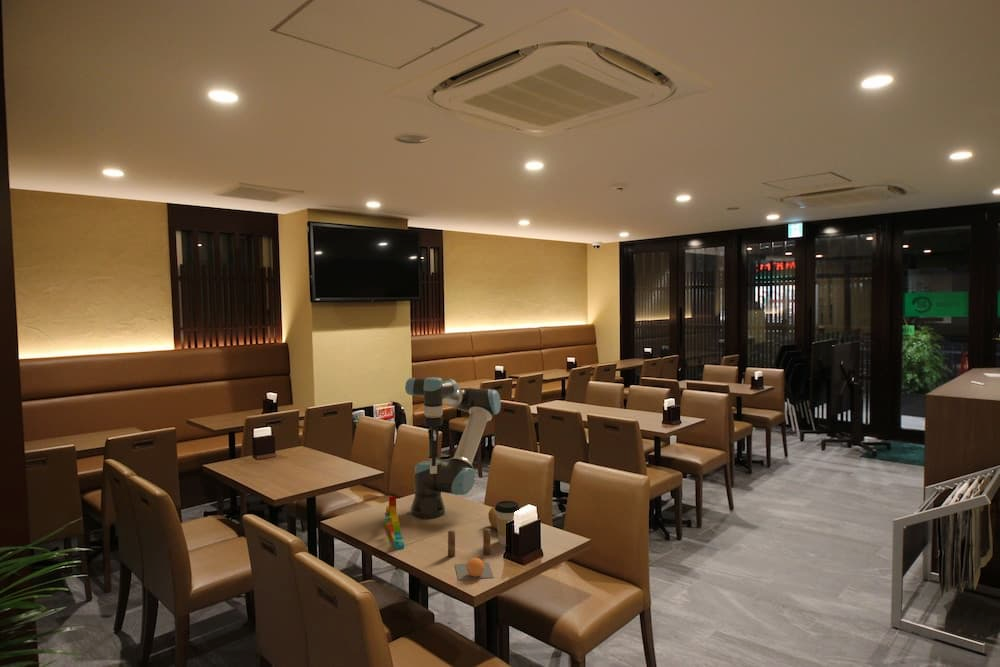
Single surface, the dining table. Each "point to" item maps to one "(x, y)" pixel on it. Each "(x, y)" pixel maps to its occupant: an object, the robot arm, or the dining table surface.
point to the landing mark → (464, 575)
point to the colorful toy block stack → (393, 524)
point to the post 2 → (486, 541)
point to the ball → (475, 567)
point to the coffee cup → (504, 517)
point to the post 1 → (451, 543)
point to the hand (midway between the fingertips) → (433, 473)
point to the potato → (492, 517)
